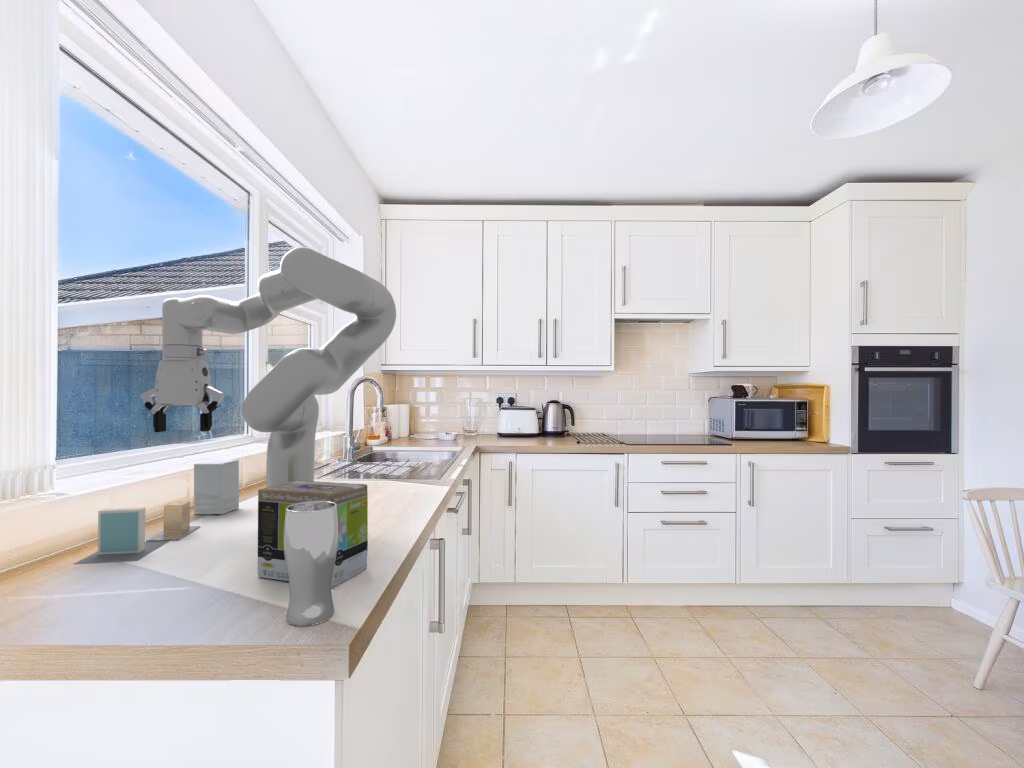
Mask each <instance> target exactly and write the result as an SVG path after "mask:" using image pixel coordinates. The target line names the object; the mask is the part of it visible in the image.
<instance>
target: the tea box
mask: <svg viewBox="0 0 1024 768" xmlns="http://www.w3.org/2000/svg"><path fill="white" fill-rule="evenodd" d="M257 490H258V492H257V493H258V494H257V497H258V498H257V499H258V501H257V577H258V578H264V579H269V580H278V581H283V582H289V580H288V574H287V569H286V563H285V556H284V544H283V537H284V522H285V512H286V509H285V508H286V507H287V506H289V505H292V504H295V503H300V502H307V501H331V502H335V503H336V504H337V516H338V547H337V555H336V560H335V566H334V571H333V577H332V585H331V589H332V588H333V587H334V588H335V586H338V585H340V584H342V583H344V582H346V581H348V580H350V579H352V578H353V577H355V576H357V575H358V574H361V573H362V572H363V571H366V570H367V567H368V552H369V551H368V544H369V543H368V536H369V533H368V529H369V528H368V522H369V521H368V520H369V518H368V514H369V513H368V511H369V510H368V505H369V504H368V503H369V502H368V484H367V483H366V484H364V483H348V482H347V483H346V482H331V481H315V480H314V481H295V482H290V483H286V484H281V485H277V486H272V487H268V488H266V487H264V488H260V489H257Z"/></svg>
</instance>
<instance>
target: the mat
mask: <svg viewBox="0 0 1024 768" xmlns="http://www.w3.org/2000/svg"><path fill="white" fill-rule="evenodd" d="M169 542H170V541H155V542H146V541H145V550H144V551H142V552H140V553H121V554H101V555H98V551H96V552H94V553H92V554H90V555H88V556H86V557H84V558H82V559H80V560H78V561H76V562H73V565H84V564H85V565H86V564H101V563H102V564H103V563H104V564H105V563H122V562H123V563H125V562H137V561H140V560H141V559H143V558H144V557H146V556H148V555H149V554H151V553H153V552H154V551H156V550H157V549H158V550H159V548H161V547H163V546H164V545H166V544H167V543H169Z"/></svg>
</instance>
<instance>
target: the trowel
mask: <svg viewBox="0 0 1024 768" xmlns="http://www.w3.org/2000/svg"><path fill="white" fill-rule="evenodd" d="M190 518H191V501H190V500H189V501H187V500H183V501H182V500H181V501H169V503H167V504H165V505H163V531H161V532H159V533H157V534H155V535H154V536H152V537H150V538H148V539H145V542H155V541H169V542H175V541H177V542H179V541H181V540H183V538H185V537H187V536H189V535H190V534H192V533H194V532H195V531H197V530H199V529H200V528H201V526H200V525H195V526H193V525H190V523H191V521H190Z"/></svg>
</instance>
